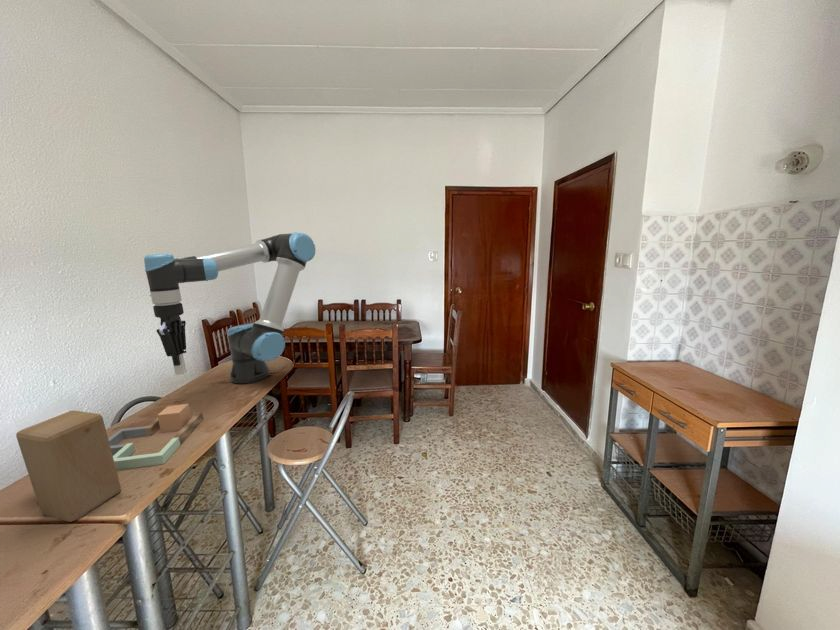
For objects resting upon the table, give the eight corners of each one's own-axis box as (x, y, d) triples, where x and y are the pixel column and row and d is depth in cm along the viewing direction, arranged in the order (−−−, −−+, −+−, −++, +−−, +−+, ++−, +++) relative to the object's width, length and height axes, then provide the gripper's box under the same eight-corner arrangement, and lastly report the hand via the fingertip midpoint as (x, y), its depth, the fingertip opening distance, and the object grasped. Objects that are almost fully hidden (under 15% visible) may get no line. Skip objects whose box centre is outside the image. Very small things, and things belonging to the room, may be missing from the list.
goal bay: (129, 451, 95) (127, 443, 94) (180, 445, 97) (178, 437, 96) (107, 471, 86) (105, 462, 86) (164, 463, 89) (162, 455, 88)
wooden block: (124, 490, 79) (103, 412, 75) (71, 524, 70) (44, 437, 65) (94, 484, 82) (72, 408, 78) (39, 516, 72) (11, 431, 68)
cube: (171, 423, 110) (168, 406, 108) (191, 420, 111) (188, 403, 109) (161, 433, 104) (157, 415, 103) (182, 430, 105) (179, 412, 104)
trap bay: (121, 436, 102) (120, 429, 102) (149, 433, 104) (147, 425, 103) (94, 458, 92) (92, 450, 91) (125, 454, 93) (123, 446, 93)
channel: (159, 424, 109) (158, 417, 108) (203, 418, 111) (202, 412, 111) (129, 451, 95) (127, 443, 94) (180, 445, 97) (178, 437, 96)
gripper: (165, 301, 113) (178, 367, 118) (141, 307, 100) (157, 382, 105) (190, 299, 114) (202, 365, 119) (169, 306, 102) (183, 379, 106)
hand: (181, 373), depth 112 cm, fingers closed
